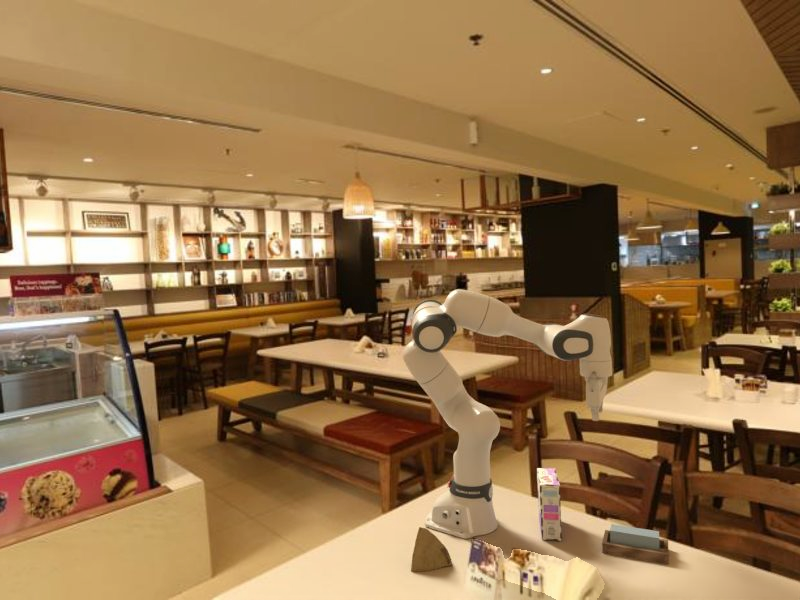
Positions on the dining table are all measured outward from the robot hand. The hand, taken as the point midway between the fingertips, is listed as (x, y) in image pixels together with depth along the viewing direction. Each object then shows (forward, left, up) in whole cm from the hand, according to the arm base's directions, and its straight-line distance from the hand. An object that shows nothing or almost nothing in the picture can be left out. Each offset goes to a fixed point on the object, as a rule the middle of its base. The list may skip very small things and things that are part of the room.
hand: (597, 416), depth 153 cm
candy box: (-14, -5, -34) cm, 37 cm away
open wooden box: (+9, -9, -34) cm, 36 cm away
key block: (+9, -9, -34) cm, 36 cm away
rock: (-39, -36, -34) cm, 63 cm away
